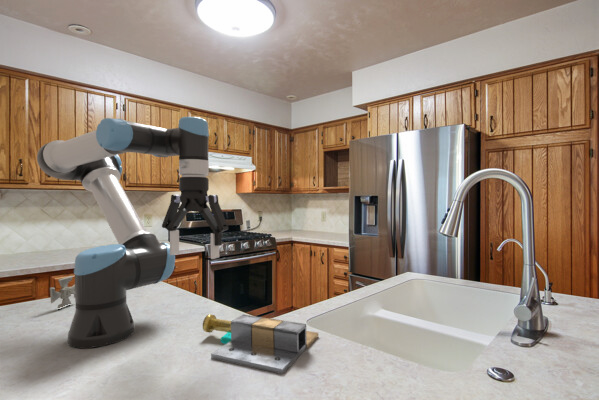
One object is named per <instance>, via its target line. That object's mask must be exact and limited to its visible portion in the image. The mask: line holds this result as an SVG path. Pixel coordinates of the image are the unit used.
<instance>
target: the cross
mask: <svg viewBox="0 0 599 400" xmlns="http://www.w3.org/2000/svg"><path fill="white" fill-rule="evenodd" d="M73 277H74V276H73V275H70V276H67V277H63V278H59V279H57V282H58V283H59V286H60V287H61V288H60V289H59V291H56V290H55V289H56V288H55V287H49V295H50V304H53V303H54V302H56V301H57V300H58V299H61V300H62V302H61V303H60V304H58V305H57V308H60V307H63V306H65V305H68V304H72V302H71V300H70V298H69V297H71V296H72V295H73V297H74V299H75V284H73V285H72V286H69V283H70V282H71V281H72V280H73Z"/></svg>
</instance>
